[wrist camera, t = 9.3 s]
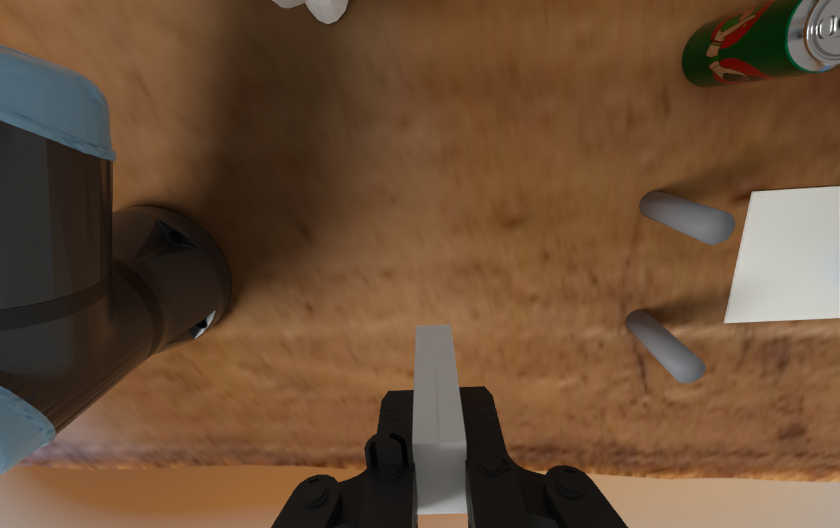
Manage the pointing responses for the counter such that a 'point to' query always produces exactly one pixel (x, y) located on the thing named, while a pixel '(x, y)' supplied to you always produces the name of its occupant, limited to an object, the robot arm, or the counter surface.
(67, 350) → the robot arm
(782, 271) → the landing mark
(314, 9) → the soap bottle
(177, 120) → the counter surface
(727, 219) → the post
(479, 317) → the counter surface
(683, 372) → the post
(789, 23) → the soda can
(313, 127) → the counter surface
